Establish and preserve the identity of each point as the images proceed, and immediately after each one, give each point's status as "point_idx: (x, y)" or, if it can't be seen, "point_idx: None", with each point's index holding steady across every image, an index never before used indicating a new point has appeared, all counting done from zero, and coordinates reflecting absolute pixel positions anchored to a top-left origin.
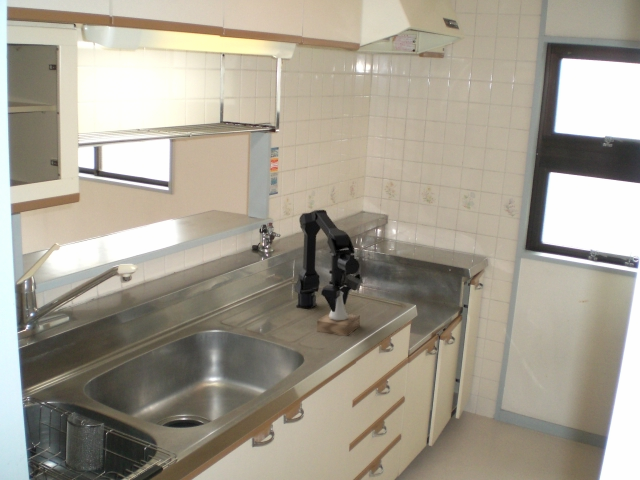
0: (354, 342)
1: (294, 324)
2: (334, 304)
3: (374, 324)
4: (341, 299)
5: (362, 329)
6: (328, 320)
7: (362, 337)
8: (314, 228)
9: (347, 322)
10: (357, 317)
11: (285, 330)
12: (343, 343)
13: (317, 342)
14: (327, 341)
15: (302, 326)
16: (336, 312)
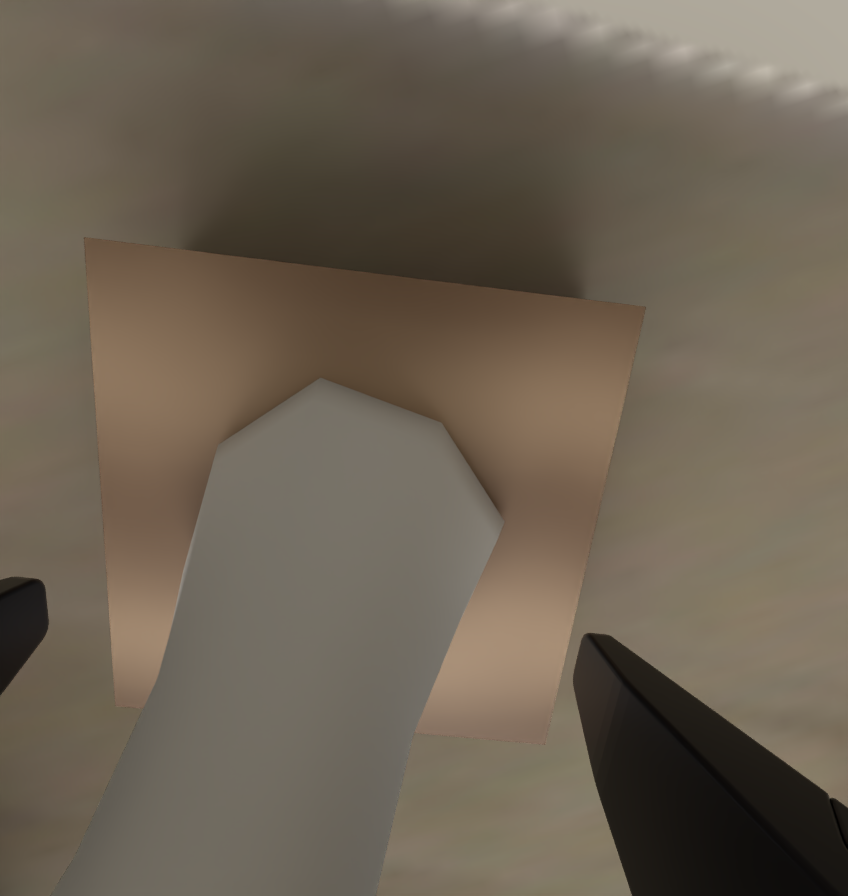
0: (784, 136)
1: (420, 859)
2: (818, 809)
3: (17, 65)
4: (274, 777)
5: (286, 180)
6: (499, 624)
7: (580, 82)
8: None
9: (498, 341)
10: (186, 253)
11: (589, 870)
12: (838, 266)
13: (844, 544)
14: (800, 460)
15: (445, 793)
16: (468, 601)
